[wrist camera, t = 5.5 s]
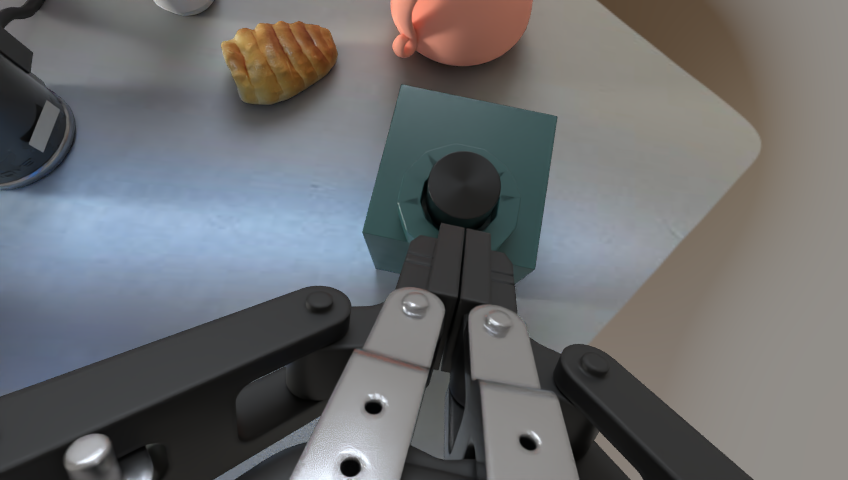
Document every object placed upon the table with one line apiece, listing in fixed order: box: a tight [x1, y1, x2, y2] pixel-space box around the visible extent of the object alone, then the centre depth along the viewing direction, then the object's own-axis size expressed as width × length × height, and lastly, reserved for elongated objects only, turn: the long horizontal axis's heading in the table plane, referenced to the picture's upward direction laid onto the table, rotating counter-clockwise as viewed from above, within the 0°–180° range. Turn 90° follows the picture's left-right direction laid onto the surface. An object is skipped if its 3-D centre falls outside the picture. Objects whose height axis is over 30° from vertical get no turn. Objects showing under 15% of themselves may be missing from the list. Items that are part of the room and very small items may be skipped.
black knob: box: [426, 151, 501, 233], centre depth 23 cm, size 4×4×2 cm
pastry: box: [221, 21, 338, 105], centre depth 37 cm, size 9×7×4 cm
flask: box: [362, 84, 557, 284], centre depth 30 cm, size 11×10×12 cm
